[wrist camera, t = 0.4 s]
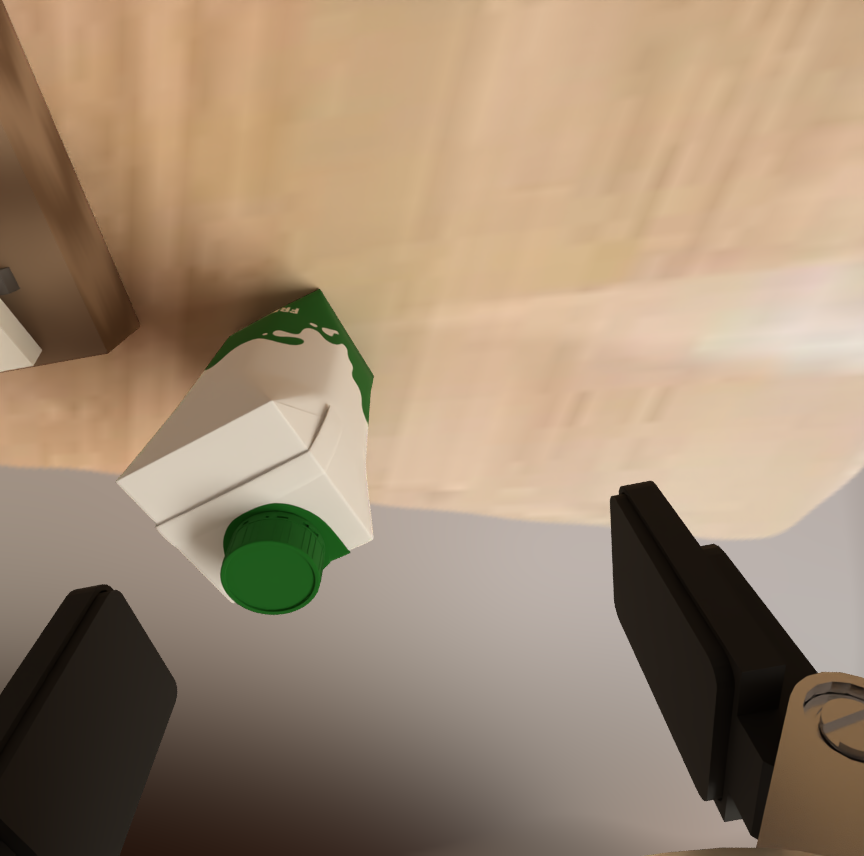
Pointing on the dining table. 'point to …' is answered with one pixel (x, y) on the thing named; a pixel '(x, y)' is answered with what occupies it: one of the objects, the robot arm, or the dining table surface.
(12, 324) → the rocker
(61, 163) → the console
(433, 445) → the dining table surface
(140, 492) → the milk carton
